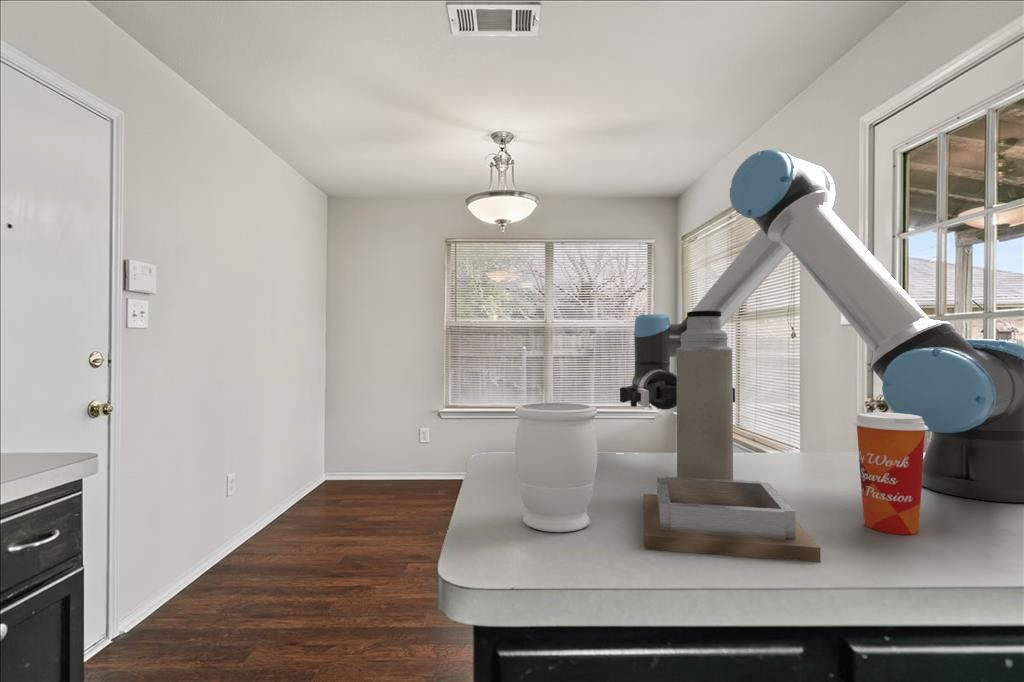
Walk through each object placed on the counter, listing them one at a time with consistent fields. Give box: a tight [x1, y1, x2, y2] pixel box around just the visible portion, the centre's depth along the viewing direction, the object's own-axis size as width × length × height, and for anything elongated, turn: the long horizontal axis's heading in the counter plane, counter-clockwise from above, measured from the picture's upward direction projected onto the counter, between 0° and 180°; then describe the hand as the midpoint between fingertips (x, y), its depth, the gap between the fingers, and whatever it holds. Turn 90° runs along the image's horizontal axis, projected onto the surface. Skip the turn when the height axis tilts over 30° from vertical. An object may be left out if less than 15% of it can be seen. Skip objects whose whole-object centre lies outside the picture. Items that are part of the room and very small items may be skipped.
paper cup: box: [853, 411, 928, 536], centre depth 70 cm, size 8×8×14 cm
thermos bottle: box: [675, 310, 734, 480], centre depth 84 cm, size 8×8×28 cm
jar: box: [514, 402, 599, 533], centre depth 72 cm, size 11×10×15 cm
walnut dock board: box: [643, 493, 822, 563], centre depth 70 cm, size 18×18×2 cm
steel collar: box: [656, 476, 797, 540], centre depth 70 cm, size 14×14×3 cm
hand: (688, 399), depth 92 cm, fingers open, 13 cm apart
